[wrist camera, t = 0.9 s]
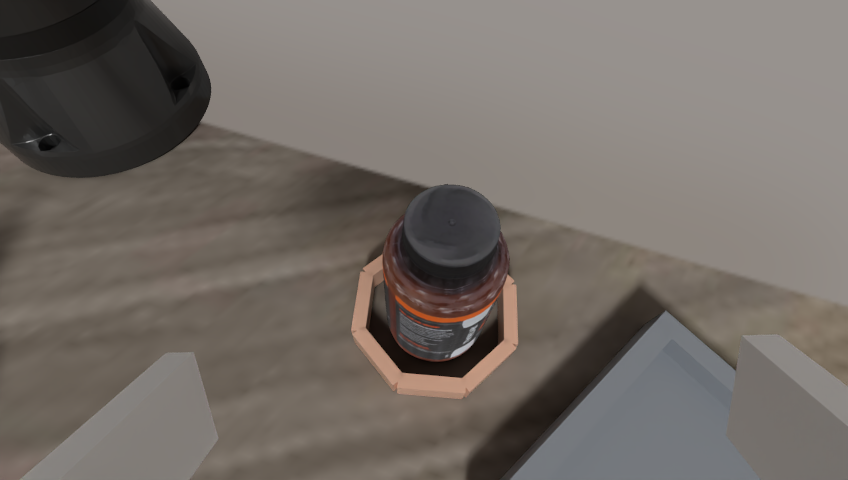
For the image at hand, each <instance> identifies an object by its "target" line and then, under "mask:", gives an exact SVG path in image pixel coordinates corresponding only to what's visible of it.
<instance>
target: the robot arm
mask: <svg viewBox="0 0 848 480" xmlns="http://www.w3.org/2000/svg"><path fill="white" fill-rule="evenodd" d="M210 96H211V83H210V79H209V76H208V74H207V71H206V69H205V67H204V65H203V63H202V61H201V59H200V57H199V55H198V53H197V51H196V49H195V48H194V46H193V45H192V44H191V43H190V41H189V40H188V39H187V38H186V37H185V36H184V35H183V34H182V33H181V32H180V31H179V30H178V29H177V28H176V26H175V25H174V24H173V23H172V22H171V21H170V20H169V19H168V18H167V17H166V16H165V15H164V14H163V13H162V12H161V11H160V10H159V9H158V8H157V7H156V6H155V5H154V4H153V2H151V0H0V143H1V144H2V145H4V146H5V147H6V148H7V149H8V150H9V151H11V152H12V153H13V154H14V155H15V156H17V157H18V158H19V159H20V160H21V161H23V162H24V163H25V164H27V165H29V166H30V167H32V168H34V169H36V170H39V171H41V172H44V173H48V174H51V175H56V176H62V177H76V178H83V177H97V176H104V175H109V174H114V173H118V172H122V171H126V170H129V169H132V168H135V167H138V166H140V165H143V164H145V163H147V162H149V161H151V160H154V159H155V158H157V157H159V156H161V155H163V154H164V153H166V152H168V151H169V150H171V149H172V148H174V147H175V146H176V145H178V144H179V143H180V142H181V141H182V140H184V139H185V138H186V137H187V136H188V135H189V134H190V133H191V132H192V131H193V130H194V129H195V127H196V126H197V125H198V123H199V122H200V121H201V119H202V117H203V116H204V114H205V112H206V110H207V107H208V105H209V101H210ZM726 436H727V437H728V438H729V440H730V441H731V442H732V444H733V445H734V446H735V447H736V449H737V450H738V451H739V452H740V454H741V455H742V456H743V458H744V459H745V460H746V461H747V463H748V464H749V465H750V467H751V468H752V469H753V470H754V472H755V473H756V474H757V476H758V477H759V478H760V479H761V480H848V386H846V385H845V384H844V383H842V382H841V381H840V380H838V379H837V378H836V377H834V376H833V375H832V374H830V373H829V372H828V371H826V370H825V369H824V368H822V367H821V366H820V365H818V364H817V363H816V362H814V361H813V360H812V359H810V358H809V357H808V356H807V355H805V354H804V353H803V352H801V351H800V350H799V349H797V348H796V347H795V346H793V345H792V344H791V343H789V342H788V341H787V340H785V339H784V338H783V337H781V336H780V335H779V334H775V335H742V336H741V343H740V349H739V355H738V362H737V368H736V374H735V381H734V387H733V393H732V400H731V406H730V412H729V419H728V425H727V431H726ZM217 440H218V435H217V432H216V428H215V425H214V421H213V418H212V414H211V411H210V407H209V404H208V400H207V397H206V393H205V390H204V387H203V383H202V380H201V376H200V373H199V369H198V366H197V362H196V359H195V355H194V352H180V353H165V354H164V355H163V356H162V357H161V358H159V359H158V360H157V361H156V362H155V363H154V364H152V365H151V366H150V367H149V368H148V369H147V370H146V371H144V372H143V373H142V374H141V375H140V376H139V377H137V378H136V379H135V380H134V381H133V382H132V383H131V384H129V385H128V386H127V387H126V388H125V389H124V390H122V391H121V392H120V393H119V394H118V395H117V396H116V397H114V398H113V399H112V400H111V401H110V402H109V403H107V404H106V405H105V406H104V407H103V408H102V409H101V410H99V411H98V412H97V413H96V414H95V415H94V416H92V417H91V418H90V419H89V420H88V421H87V422H86V423H84V424H83V425H82V426H81V427H80V428H79V429H78V430H76V431H75V432H74V433H73V434H72V435H71V436H69V437H68V438H67V439H66V440H65V441H64V442H63V443H61V444H60V445H59V446H58V447H57V448H56V449H54V450H53V451H52V452H51V453H50V454H49V455H48V456H46V457H45V458H44V459H43V460H42V461H41V462H39V463H38V464H37V465H36V466H35V467H34V468H33V469H31V470H30V471H29V472H28V473H27V474H26V475H24V476H23V477H22V478H21V479H20V480H190V478H191V477H192V475H193V474H194V473H195V471H196V470H197V468H198V467H199V466H200V464H201V463H202V461H203V460H204V459H205V457H206V456H207V454H208V453H209V452H210V450H211V449H212V447H213V446H214V445H215V443H216V442H217Z"/></svg>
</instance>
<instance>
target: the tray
mask: <svg viewBox="0 0 848 480" xmlns="http://www.w3.org/2000/svg"><path fill="white" fill-rule="evenodd" d="M735 374H736V371H735V370H734V369H733V368H732V367H731V366H730V365H728V364H727V363H726V362H725V361H724V360H723V359H721V358H720V357H719V356H718V355H717V354H716V353H715V352H713V351H712V350H711V349H710V348H709V347H708V346H706V345H705V344H704V343H703V342H702V341H701V340H700V339H698V338H697V337H696V336H695V335H694V334H693V333H691V332H690V331H689V330H688V329H687V328H686V327H684V326H683V325H682V324H681V323H680V322H679V321H678V320H676V319H675V318H674V317H673V316H672V315H671V314H669V313H668V312H667V311H664V312H663V313H661V314H660V315H658V316H657V317H655V318H654V319H652V320H650V321H649V322H647V323H646V324H645V325H644V326H643V327H642V328H641V329H640V330H639V331H638V332H637V333H636V334H635V335H634V336H633V338H632V339H631V340H630V341H629V342H628V343H627V344H626V345H625V346H624V347H623V348H622V349H621V350H620V351H619V353H618V354H617V355H616V356H615V357H614V358H613V359H612V360H611V361H610V362H609V363H608V364H607V365H606V366H605V368H604V369H603V370H602V371H601V372H600V373H599V374H598V375H597V376H596V377H595V378H594V379H593V380H592V381H591V383H590V384H589V385H588V386H587V387H586V388H585V389H584V390H583V391H582V392H581V393H580V394H579V395H578V396H577V398H576V399H575V400H574V401H573V402H572V403H571V404H570V405H569V406H568V407H567V408H566V409H565V410H564V411H563V413H562V414H561V415H560V416H559V417H558V418H557V419H556V420H555V421H554V422H553V423H552V424H551V425H550V426H549V428H548V429H547V430H546V431H545V432H544V433H543V434H542V435H541V436H540V437H539V438H538V439H537V440H536V441H535V443H534V444H533V445H532V446H531V447H530V448H529V449H528V450H527V451H526V452H525V453H524V454H523V455H522V456H521V458H520V459H519V460H518V461H517V462H516V463H515V464H514V465H513V466H512V467H511V468H510V469H509V470H508V471H507V473H506V474H505V475H504V476H503V477H502V478H501V479H500V480H761V479H760V478H759V477H758V476H757V474H756V473H755V472H754V470H753V469H752V468H751V467H750V465H749V464H748V463H747V461H746V460H745V459H744V458H743V456H742V455H741V454H740V452H739V451H738V450H737V449H736V447H735V446H734V445H733V444H732V442H731V441H730V440H729V438H728V437H727V436H726V431H727V425H728V419H729V412H730V406H731V400H732V393H733V387H734V381H735Z"/></svg>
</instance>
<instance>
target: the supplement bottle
mask: <svg viewBox="0 0 848 480" xmlns="http://www.w3.org/2000/svg"><path fill="white" fill-rule="evenodd" d="M500 229H501V228H500V220H499V217H498V214H497V212H496V209H495V208H494V206H493V205H492V204H491V203H490V202H489V201H488V200H487V199H486V198H485V197H484V196H483V195H482V194H480V193H479V192H477V191H475V190H473V189H471V188H469V187H465V186H460V185H448V184H445V185H439V186H435V187H431V188H429V189H427V190H425V191H423V192H421V193H420V194H419V195H417V196H416V197H415V198H414V199H413V201H412V202H411V203H410V204H409V206H408V208H407V210H406V213H405V214H404V215H403V216H401V217H400V218H399V219H398V220H397V221H396V222H395V224H394V225H393V227H392V228H391V230H390V231H389V233H388V235H387V238H386V240H385V244H384V249H383V257H382V264H383V277H384V289H385V301H386V311H387V320H388V324H389V327H390V331H391V333H392V335H393V337H394V339H395V340H396V342H397V343H398V345H399V346H400V347H401V348H402V349H403V350H405V351H406V352H407V353H408V354H410V355H412V356H414V357H416V358H418V359H421V360H425V361H430V362H442V361H447V360H451V359H454V358H456V357H458V356H460V355H461V354H463V353H464V352H466V351H467V350H468V349H469V348H470V347H471V346H472V345H473V343H474V342H475V341H476V339H477V338H478V336H479V335H480V333H481V331H482V328H483V327H484V325H485V323H486V321H487V318H488V316H489V314H490V312H491V310H492V308H493V307H494V305H495V302H496V301H497V299H498V297H499V295H500V293H501V290H502V288H503V286H504V284H505V281H506V278H507V274H508V270H509V260H510V258H509V253H508V248H507V244H506V241H505V239H504V236H503V234H502V232H501V231H500Z"/></svg>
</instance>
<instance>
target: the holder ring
mask: <svg viewBox="0 0 848 480" xmlns="http://www.w3.org/2000/svg"><path fill="white" fill-rule="evenodd" d="M382 257H383V254H382V255H381V256H379V257H378V258H376V259H375V260H374V261H372V262H371V263H369V264H368V265H367V266H365V267H364V268H363V272H360V278H359V285H358V291H357V297H356V303H355V309H354V316H353V322H352V328H351V331H352V335H353V338H354V341H355V343H356V345H357V346H358V347H359V348H360V350H361V351H362V352H363V353H364V355H365V356H366V357H367V358H368V360H369V361H370V362H371V364H372V365H373V366H374V367H375V369H376V370H377V371H378V372H379V374H380V375H381V376H382V377H383V379H384V380H385V381H386V383H387V384H388V385H389V386H390V388H391V389H392V390H393V391H395V390H396V389H397V393H398V394H407V395H419V396H431V397H443V398H455V399H462V398H463V396H465V397H467V396H468V395H469V394H470V393H471V392H472V391H473V390H474V389H475V388H476V387H478V386H479V385H480V384H481V383H482V382H483V381H484V380H485V379H486V378H487V377H488V376H489V375H490V374H491V373H492V372H493V371H495V370H496V369H497V368H498V367H499V366H500V365H501V364H502V363H503V362H504V361H505V360H506V359H507V358H508V357H509V356H510V355H511V354H512V353H513V352H514V351H515V349H516V346H517V345H518V324H517V294H516V285H513V283H514V280H513V279H512V278H511V277H510V276H509V275H508V274H507V278H506V281H505V284H504V286H503V288H502V290H501V293H500V295H499V297H498V346H497V347H496V348H495V349H494V350H492V351H491V352H490V353H489V354H488V355H487V356H486V357H485V358H484V359H483V360H482V361H480V362H479V363H478V364H477V365H476V366H475V367H474V368H473V369H472V370H471V371H470V372H468V373H467V374H466V375H465V376H464V377H463V378H456V377H444V376H432V375H420V374H409V373H402V372H401V371H400V370H399V368H398V367H397V366H396V365H395V364H394V362H393V361H392V360H391V359H390V357H389V356H388V355H387V354H386V352H385V351H384V350H383V349H382V348H381V346H380V345H379V344H378V343H377V341H376V340H375V339H374V338H373V336H372V335H371V334H370V333H369V325H370V318H371V311H372V304H373V296H374V289H375V287H376V286H377V285H378V284H380V283H381V282H382V281H384V277H383V264H382Z"/></svg>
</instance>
